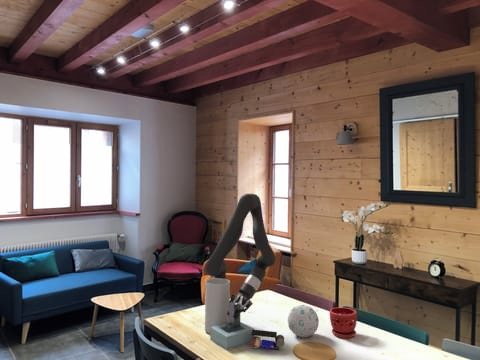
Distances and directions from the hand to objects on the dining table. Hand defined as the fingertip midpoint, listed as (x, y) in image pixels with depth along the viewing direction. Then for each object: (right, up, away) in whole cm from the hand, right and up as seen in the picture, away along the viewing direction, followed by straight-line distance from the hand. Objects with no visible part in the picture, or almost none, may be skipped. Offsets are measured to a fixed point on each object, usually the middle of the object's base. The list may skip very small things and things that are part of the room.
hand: (231, 316), depth 179 cm
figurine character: (+17, -12, -7) cm, 22 cm away
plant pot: (+56, -13, +9) cm, 58 cm away
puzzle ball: (+35, -12, +7) cm, 38 cm away
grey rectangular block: (+1, -5, +1) cm, 5 cm away
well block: (0, -12, 0) cm, 12 cm away
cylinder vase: (-8, -12, +13) cm, 19 cm away
